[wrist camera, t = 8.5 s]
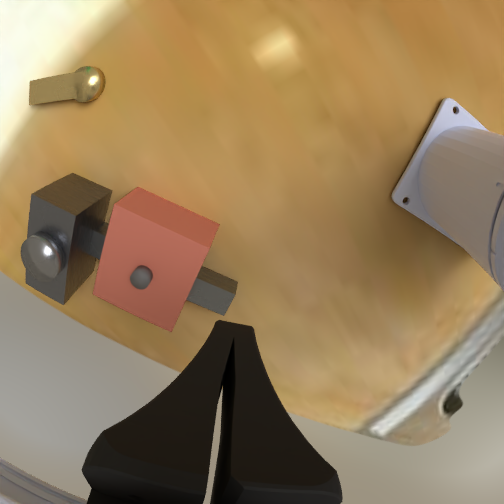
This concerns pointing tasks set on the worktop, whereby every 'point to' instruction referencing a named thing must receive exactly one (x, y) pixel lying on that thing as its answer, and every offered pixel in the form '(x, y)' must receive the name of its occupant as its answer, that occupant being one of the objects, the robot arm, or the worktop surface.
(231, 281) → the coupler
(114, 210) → the lock
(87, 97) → the key
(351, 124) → the worktop surface
